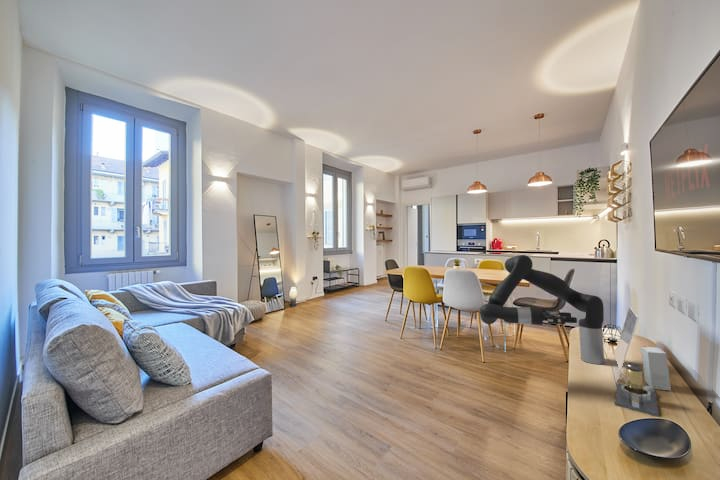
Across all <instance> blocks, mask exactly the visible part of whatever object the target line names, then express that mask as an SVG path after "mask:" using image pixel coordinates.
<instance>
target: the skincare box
mask: <svg viewBox="0 0 720 480" xmlns="http://www.w3.org/2000/svg"><path fill="white" fill-rule="evenodd" d="M640 350H641V359H642V371H643V377H644V379H643V380H644V382H645V383H646V384H647V386H650V387H653V388H654V390H660V389H662V390H661V391H665V390H670V391H669V392H671V391H672V388H671V380H670V371H669V365H668V355H667V352H665V351H664V350H662V349H661V348H659V347H653V346H640Z"/></svg>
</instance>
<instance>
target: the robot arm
mask: <svg viewBox="0 0 720 480" xmlns="http://www.w3.org/2000/svg"><path fill="white" fill-rule="evenodd" d="M533 266H534V265H533V261H532V259H531V258H530V257H529V256H528V255H525V254H519V255H515V256H512V257H510V258H507V259H506V260H505V262H504V268H505V270H506V271H507V273H509V274H508V275H507V276H506V277H505V278H504V279H503V280H501V282H500V283H499V284H497V285H496V287H495V288H494V289H493V291H492V292H491V294H490V295H489V298H488V301H487V303H485V304H483V305H482V306H481V307H480V308H479V314H480V319H481V321H482V322H483V323H484V324H486V325H492V324H494V323H496V322H497V320H503V321H504V322H505V323H508V324H521V325H530V326H543V325H544V321H545V322H547V323H548V325H549V324H554V325H556V324H557V325H566V324H577V323H578V333H579V347H580V359H581V360H582V361H583V362H586V363H589V364H593V365H594V364H595V365H603V364H605V352H604V337H603V336H604V335H603V324H604V315H605V314H604V313H605V312H604V310H605V307H604V302H603V300H602V298H600V297H599V296H597V295H591V294H586V293H583V292H580V291H576V290H575V289H572V288H571V287H570V286H569V284H568V283H567V282H566V281H565V280H563V279H562V278H560V277H558V275H557V276H556V275H555V274H553V273H549V272H547V271H543V270H542V271H541V270H537V269H534V268H533ZM522 280H524V281H526V282H528V283H530V284H532V285H534V287H537V288H539V289H541V290H543V292H547V293H548V294H550V295H551V296H554V297H556V298H558V299H560V300H563V301H564V302H566V303H568V304H569V305H571V306H572V307H573V308H574V309H576V310H577V311H579V312H581V313H582V312H583V313H585V317H584V318H579V320H578V318H577V317H575V316H572V313H571V312H565V311H563V312H560V311H559V310H548V309H547V310H546V309H545V310H544V309H542V308H541V307H537V306H536V307H534V306H532V307H531V306H519V307H517V306H516V307H514V306H505V304H506V303H507V301H508V299H509V298H510V296H511V295H512V293H513V291H514V290H515V289H516V288H517V286H519V284H520V283H521V282H522Z"/></svg>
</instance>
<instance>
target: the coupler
mask: <svg viewBox="0 0 720 480" xmlns="http://www.w3.org/2000/svg"><path fill="white" fill-rule="evenodd" d="M624 364H625V365H624V366H625V367H624V368H625V373H626V385H627V390H628V391H629V392H632V393H637V394H643V387H644V385H643V384H644V379H643V364H640V363H636V362H631V361H626V362H625V363H624Z"/></svg>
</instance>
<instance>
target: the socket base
mask: <svg viewBox="0 0 720 480" xmlns="http://www.w3.org/2000/svg"><path fill="white" fill-rule="evenodd" d="M657 399H658V398H657V392H656V390H655V389H654V388H653V387H650V386H649V385H645V386H643V394H637V393H632V392H629V391H628V390H627V384H625V383H620V382H617V384H616V393H615V400H614V404H615V406H617V407H620V408H624V409H629V410H632V411H635V412H640V413H644V414H647V415H650V416H655V417H659V409H658V407H659V406H658V400H657Z"/></svg>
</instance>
